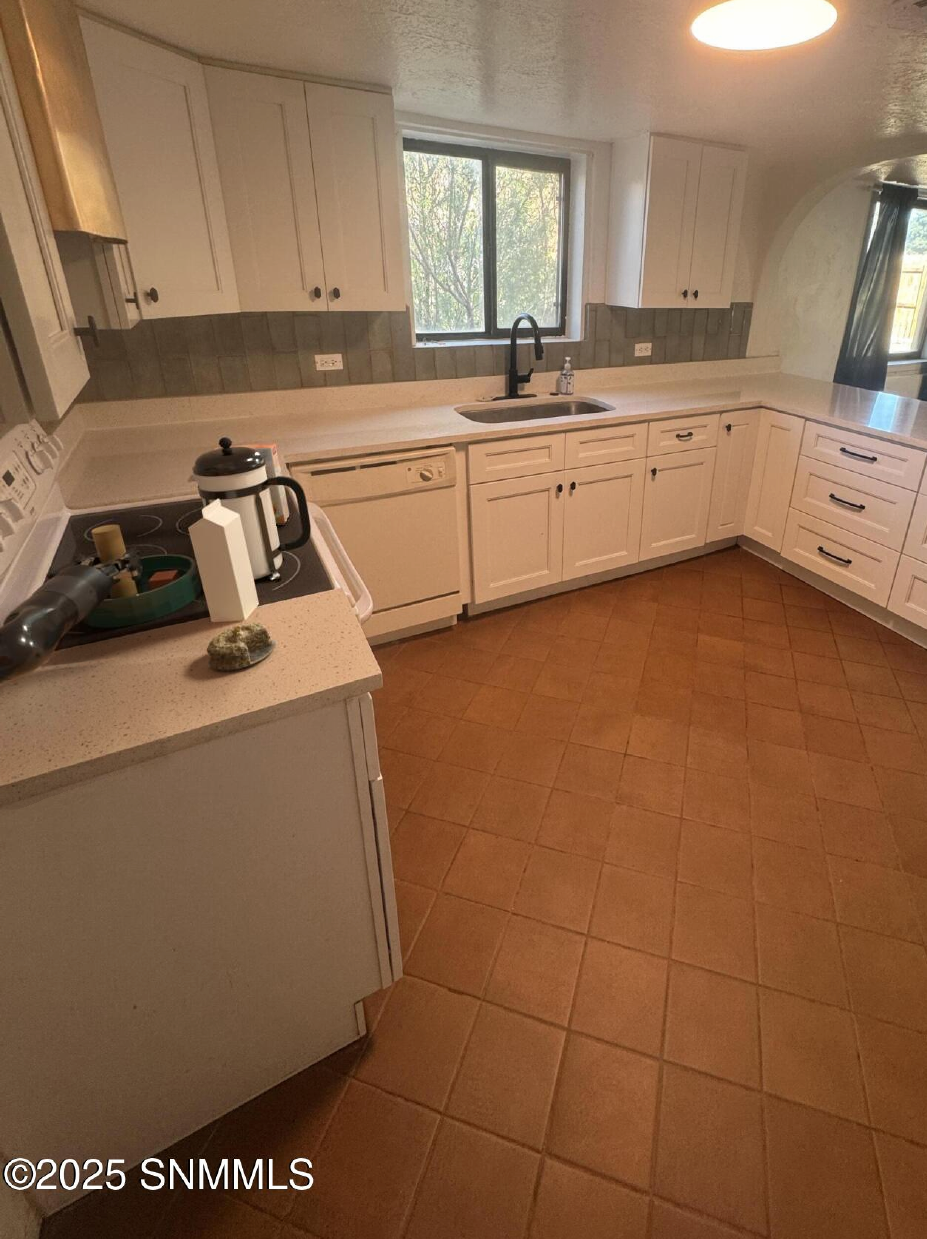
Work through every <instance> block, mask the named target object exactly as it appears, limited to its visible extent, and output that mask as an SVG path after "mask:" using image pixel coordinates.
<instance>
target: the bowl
mask: <svg viewBox="0 0 927 1239" xmlns="http://www.w3.org/2000/svg"><path fill="white" fill-rule="evenodd" d="M140 561H141V564H142V572H141V577H140V579H138V580H135V582H136V585H137V588H138V592H139V594H137V595H133V596H128V597H122V598H115V599H105V600H104V601H102V602H101V603H100V604H99V605H98V606H97V607H96V608H95V609H94V610H93V611H92V612H91V613H90V614H89V615H88V616H86V617H85V618H84V619H83V620H82V621H81V622H82V623H83V624H86V625H88V626H90V627H93V628H95V627H96V628H102V629H105V628H108V629H109V628H121V627H128V626H134V625H139V624H142V623H143V624H144V623H147V622H150V621H153V620H157V619H160V618H161V617H164V616H167V615H169V614H170V615H171V614H172V613H174V612H176V611H178V610H180V609H182V608H184V607H186V606H187V605H189V604H190V603H191V602H193V601H194V600H196V599H197V597H198V596H199V595H200V593H201V592H202V582H201V578H200V574H199V570H198V566H197V562H196V560H194V559H193V558H192V557H189V556H188V555H184V554H173V553H171V554H154V555H147V556H142V557H141V556H140ZM173 570H178V571H179V575H180V578H179V579H177V580H175V581H173V582H171V583H169V584H167V585H165V586H163V587H160V588H157V589H154V590H150V586H149V583H148V581H149V580H150V579H151V578H152V576H153V575H154V574H155V573H156V572H164V571H173Z"/></svg>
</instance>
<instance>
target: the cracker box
mask: <svg viewBox="0 0 927 1239" xmlns="http://www.w3.org/2000/svg"><path fill="white" fill-rule="evenodd" d="M231 447H248V448H252V449H255V450H257V451H258V452H260V453H261V455H262V457H264V458H265V459H266V465H265V470H266V475H267V476H268V478H274V477H277V476H283V474H282V469H281V463H280V458H279V453H278V448H277V444H276V442H272V443H270V442H269V443H256V444H255V443H254V444H240V445H231ZM221 448H222V447H221V446H217V447H215V448H214V449H213V450H216V449H221ZM269 491H270V496H271V501H272V506H273V511H274V516H275V522H276V523H285V522H286V521H287V518H288V517H289V515H290V511H289V510H290V509H289V505H288V500H287V494H286V489H285V486H284V485H271V486H269Z"/></svg>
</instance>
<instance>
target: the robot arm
mask: <svg viewBox="0 0 927 1239" xmlns="http://www.w3.org/2000/svg"><path fill="white" fill-rule="evenodd" d="M140 558H141V554H140V550H139V549H138V548H137V547H135V546H134V547H130V548H128V549H127V550H126V553H125V554H123V556H121V557H119V558H112V559H110V560H108V561H106V562H104V563H102V564H101V563H100V559H99V556H98V553H96V554H95V555H94V556H93V557H87V558H86V559H85V560H84V561H82V560H81V559H76V560H73V561H71V562H69V563H67V564H65V565H63V566H61V567H59V568H57V569H54V570H53V571H51V572H49V573H47V574H46V577H47V580H48V581H46V582H45V583H44V584H42V585H41V586H40V587H38V588H37V589H36V590H35V591H34V592H33V593H31V595H30V596H29V597H27V598H26V599H25V600H24V601H23V602H21V603H19V604H18V605H17V606H16V607H15V608H13V609H12V611H10V612H9V613H8V614H7V616H6V617H5V619H4V621H3V623H2V625H1V626H0V686H3V685H5V684H7V683H9V682H12V681H14V680H18V679H19V678H21V677H24V676H26V675H27V676H28V675H30V674H31V673H33V672H35V671H36V670H39V668H41V667H42V666H43V665H44V664H46V663H47V662H48V661H49V659H50V658H51V657H52V656H53V654H54V652H55V650H56V649H57V647H58V644H59V643H60V640H61V638H62V637H64V636H65V635H66V634H67V633H68V632H69V631H70V630H71V629H72V628H73V627H75V626H76V625H78V624H79V623H80V622H83V621H82V620H83V619H84V618H85V617H86V616H88V615H89V614H90V613H91V612H92V611H93V610H94V609H95V608H96V607H97V606H98V605H99V604H100V603H101V602H102V601H104V600H105V599H106V597H107V596H108V594H109V592H110V589H111V586H112V585H114V584H116V583H118V582H119V581H120V580H121V579H122V578H126V577H129V578H132V580H138V579H140V577H141V572H142V564H141V561H140ZM122 562H123V564H124V567H123V566H122Z"/></svg>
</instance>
